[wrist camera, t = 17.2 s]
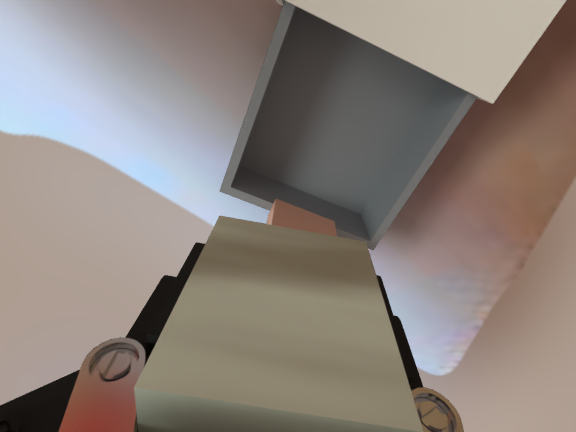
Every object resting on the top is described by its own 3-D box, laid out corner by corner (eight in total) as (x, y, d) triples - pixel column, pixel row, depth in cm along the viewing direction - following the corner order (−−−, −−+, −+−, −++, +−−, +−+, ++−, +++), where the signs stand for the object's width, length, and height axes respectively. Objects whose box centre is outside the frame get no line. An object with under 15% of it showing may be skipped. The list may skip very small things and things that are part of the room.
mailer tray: (230, 172, 35) (196, 236, 23) (298, -23, 26) (296, -70, 15) (360, 224, 37) (386, 303, 26) (462, 61, 29) (565, 75, 17)
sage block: (219, 215, 11) (133, 387, 5) (365, 241, 11) (423, 431, 6) (210, 321, 13) (146, 511, 8) (330, 340, 13) (347, 538, 8)
